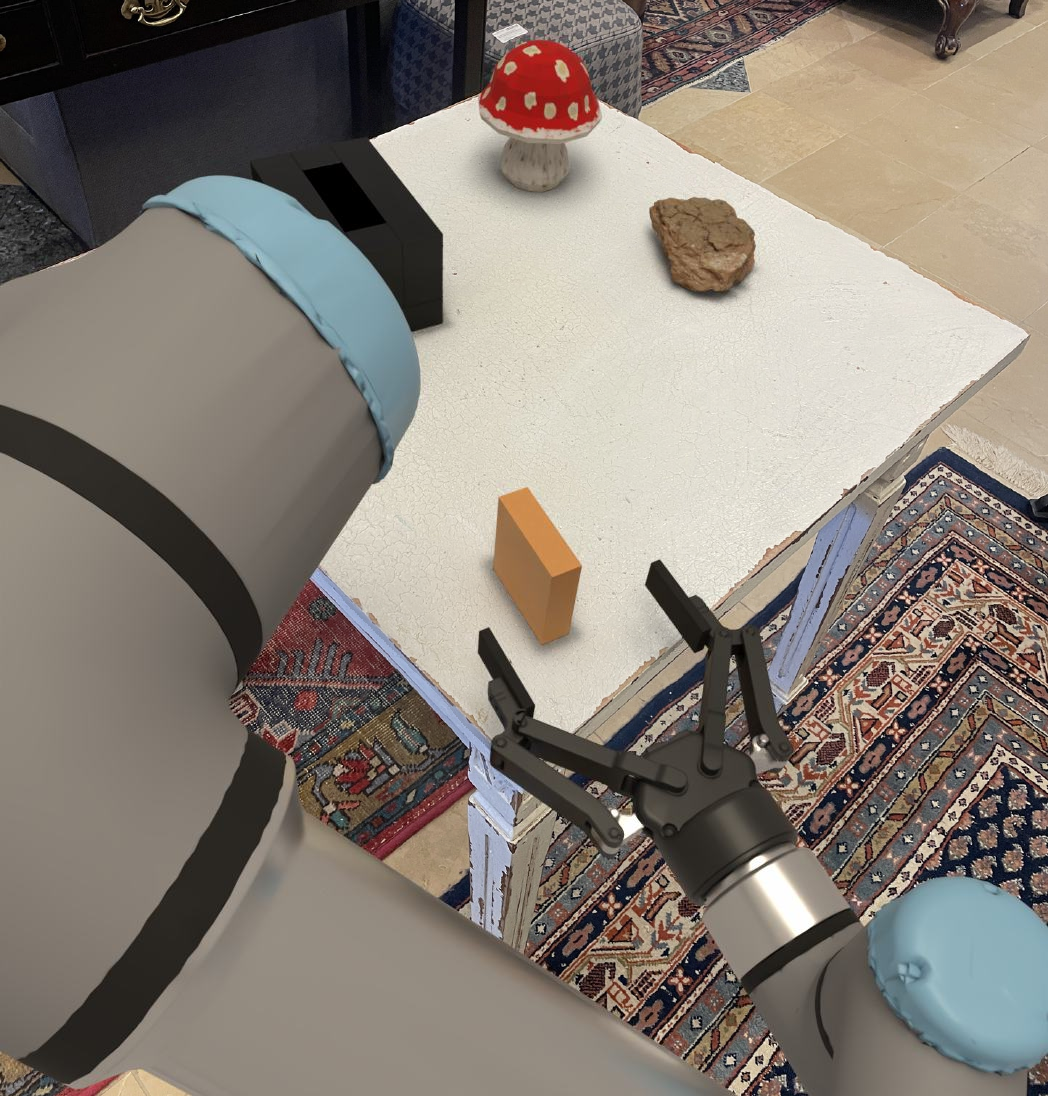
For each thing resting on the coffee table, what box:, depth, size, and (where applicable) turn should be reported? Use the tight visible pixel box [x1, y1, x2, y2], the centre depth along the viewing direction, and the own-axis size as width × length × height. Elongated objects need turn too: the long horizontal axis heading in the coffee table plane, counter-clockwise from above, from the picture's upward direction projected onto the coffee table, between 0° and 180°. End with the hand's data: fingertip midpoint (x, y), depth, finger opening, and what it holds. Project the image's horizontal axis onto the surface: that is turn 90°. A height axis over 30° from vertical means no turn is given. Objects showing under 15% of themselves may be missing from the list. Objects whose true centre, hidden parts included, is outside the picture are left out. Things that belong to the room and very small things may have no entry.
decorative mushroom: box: [477, 39, 603, 192], centre depth 106 cm, size 14×14×15 cm
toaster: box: [249, 136, 444, 333], centre depth 93 cm, size 13×18×10 cm
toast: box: [492, 486, 583, 646], centre depth 71 cm, size 2×8×8 cm, turn 28°
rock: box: [648, 196, 757, 292], centre depth 101 cm, size 13×11×5 cm
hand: (570, 604), depth 67 cm, fingers open, 13 cm apart
